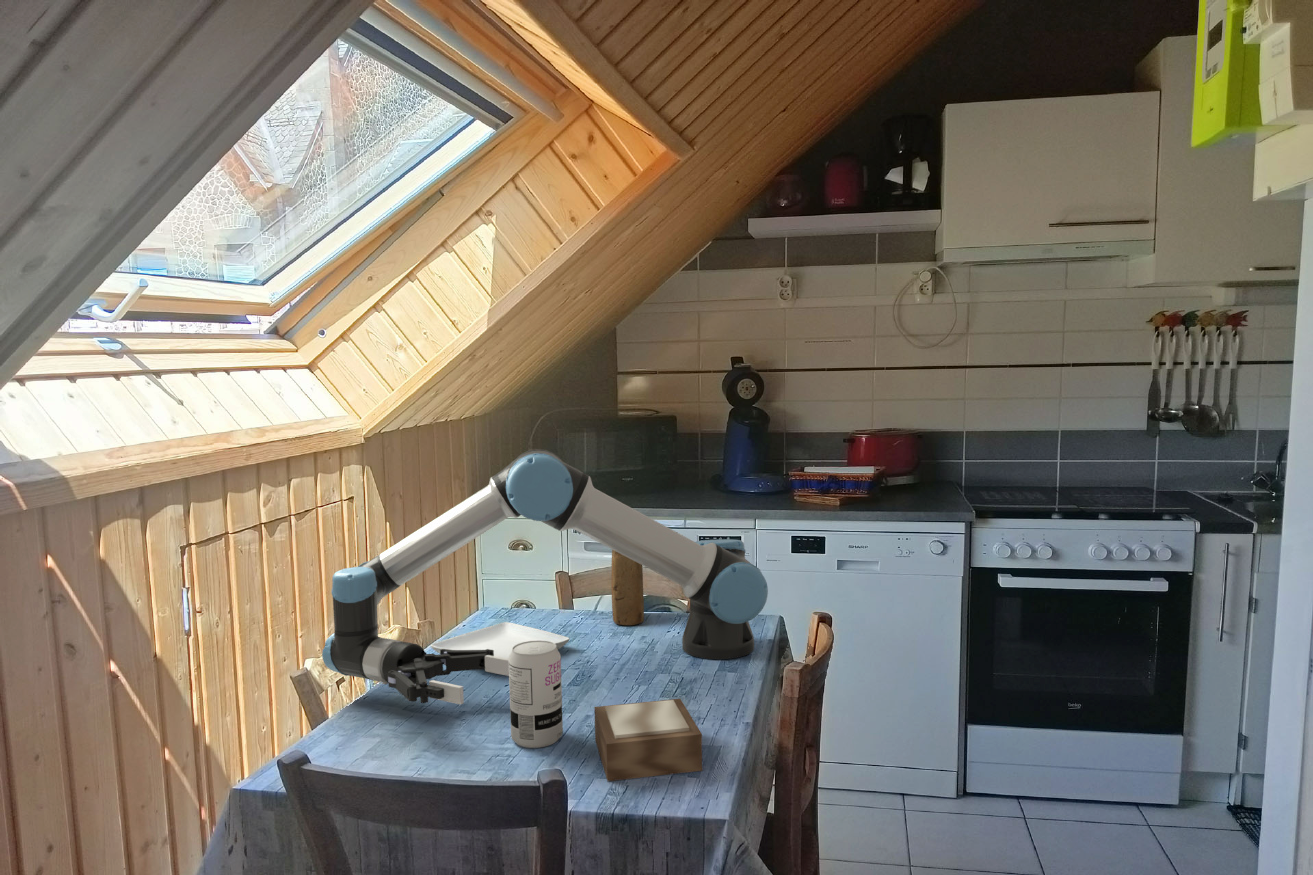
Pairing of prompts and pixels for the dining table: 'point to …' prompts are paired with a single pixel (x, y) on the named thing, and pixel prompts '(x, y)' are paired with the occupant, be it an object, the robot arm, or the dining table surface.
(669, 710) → the walnut pedestal
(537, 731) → the supplement can
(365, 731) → the dining table surface
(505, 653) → the salad plate
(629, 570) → the block
